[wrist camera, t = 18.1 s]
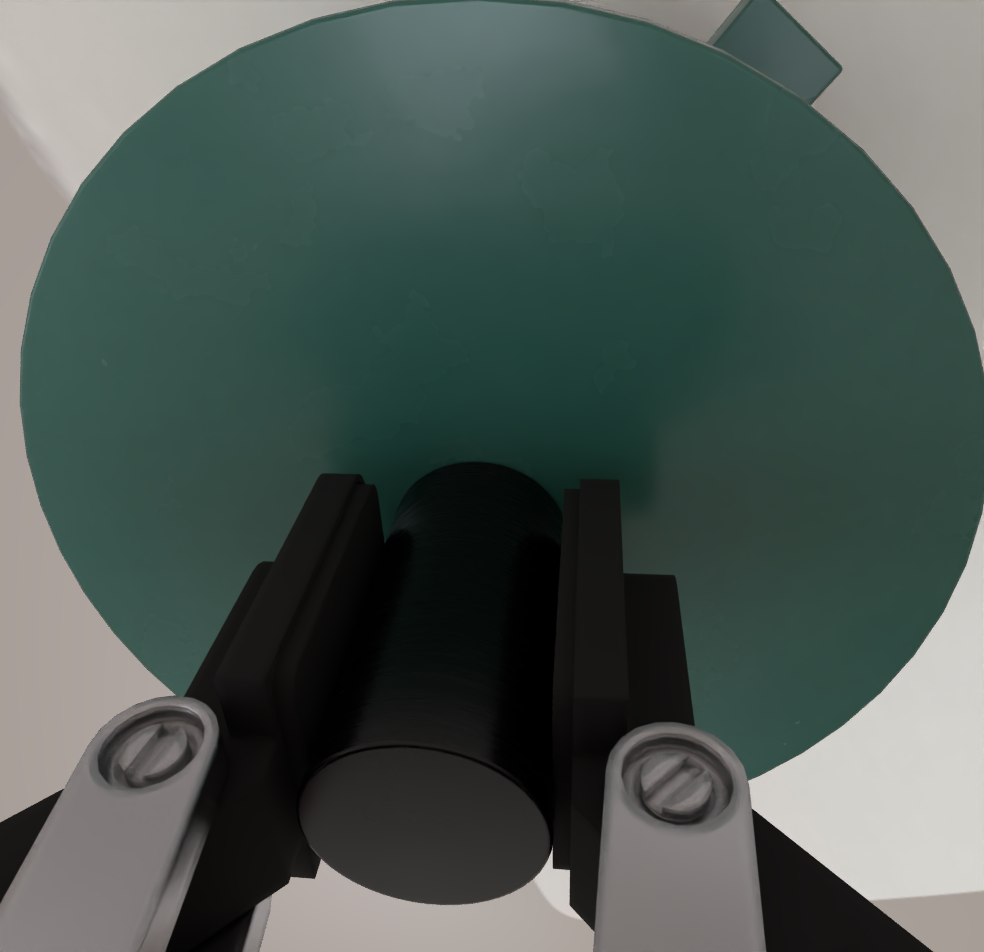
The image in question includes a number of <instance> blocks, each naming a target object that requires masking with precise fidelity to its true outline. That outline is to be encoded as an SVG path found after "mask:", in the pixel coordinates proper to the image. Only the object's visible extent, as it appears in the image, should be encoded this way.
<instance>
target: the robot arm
mask: <svg viewBox="0 0 984 952" xmlns="http://www.w3.org/2000/svg"><path fill="white" fill-rule="evenodd" d="M384 546H385V542H384V535H383V527H382V520H381V513H380V505H379V498H378V492H377V488H376V486H375V485H374V484H365V482H364V479H363V477H362V475H360V474H335V473H323V474H320V476H319V477H318V479H317V481H316V482H315V484H314V486H313V488H312V490H311V492H310V494H309V496H308V498H307V500H306V502H305V504H304V505H303V507H302V509H301V511H300V513H299V515H298V517H297V519H296V521H295V523H294V525H293V526H292V528H291V530H290V532H289V534H288V536H287V538H286V540H285V542H284V544H283V546H282V548H281V549H280V551H279V553H278V555H277V557H276V559H275V561H263V562H261V563H259V564H258V565H257V566H256V567H255V569H254V570H253V571H252V573H251V575H250V577H249V579H248V581H247V582H246V584H245V586H244V588H243V590H242V591H241V593H240V595H239V597H238V599H237V601H236V602H235V604H234V606H233V608H232V610H231V611H230V613H229V615H228V617H227V619H226V621H225V622H224V624H223V626H222V628H221V630H220V632H219V633H218V635H217V637H216V639H215V641H214V642H213V644H212V646H211V648H210V650H209V652H208V653H207V655H206V657H205V659H204V661H203V662H202V664H201V666H200V668H199V670H198V672H197V673H196V675H195V677H194V679H193V681H192V683H191V684H190V686H189V688H188V690H187V692H186V693H185V695H184V697H183V696H167V697H159V698H154V699H151V700H148V701H144V702H141V703H138V704H136V705H134V706H132V707H130V708H128V709H127V710H125V711H123V712H121V713H119V714H118V715H116V716H115V717H114V718H112V719H111V720H110V721H109V722H108V723H107V724H105V725H104V726H103V727H102V728H101V729H100V730H99V731H98V733H97V734H96V735H95V737H94V738H93V739H92V741H91V742H90V744H89V745H88V746H87V748H86V750H85V752H84V754H83V755H82V757H81V759H80V761H79V763H78V764H77V766H76V768H75V770H74V772H73V774H72V775H71V777H70V779H69V781H68V782H67V784H66V786H65V788H64V789H62V790H60V791H58V792H57V793H55V794H53V795H51V796H49V797H47V798H45V799H43V800H42V801H40V802H38V803H36V804H34V805H32V806H30V807H28V808H27V809H25V810H23V811H21V812H19V813H17V814H15V815H13V816H12V817H10V818H8V819H6V820H4V821H2V822H0V952H259V951H260V947H261V943H262V940H263V936H264V932H265V929H266V925H267V921H268V917H269V914H270V907H271V898H272V894H273V893H275V892H276V891H278V890H279V889H281V888H282V887H284V886H285V885H287V884H288V883H289V880H290V877H300V878H312V879H315V877H316V874H317V870H318V867H319V864H320V860H321V858H320V857H319V856H318V855H317V854H316V853H315V852H314V851H313V849H312V848H311V847H310V845H309V844H308V842H307V841H306V840H305V838H304V836H303V834H302V832H301V830H300V827H299V823H298V820H297V813H296V798H297V793H298V790H299V787H300V784H301V781H302V779H303V776H304V773H305V770H306V767H307V764H308V762H309V759H310V756H311V753H312V750H313V747H314V744H315V742H316V739H317V736H318V733H319V730H320V727H321V725H322V722H323V719H324V716H325V713H326V710H327V708H328V705H329V702H330V699H331V696H332V693H333V691H334V688H335V685H336V682H337V679H338V676H339V673H340V671H341V668H342V665H343V662H344V659H345V656H346V654H347V651H348V648H349V645H350V642H351V639H352V637H353V634H354V631H355V628H356V625H357V622H358V620H359V617H360V614H361V611H362V608H363V605H364V602H365V600H366V597H367V594H368V591H369V588H370V585H371V583H372V580H373V577H374V574H375V571H376V568H377V566H378V563H379V560H380V557H381V554H382V551H383V549H384ZM552 778H553V782H554V786H555V820H554V840H553V869H564V870H570V906H571V907H572V908H573V909H574V910H575V911H576V913H577V914H578V915H579V916H580V917H581V918H582V919H583V920H584V921H585V922H586V923H587V924H588V925H589V926H590V927H591V929H592V930H593V931H594V932H595V934H594V948H593V952H933V951H931V950H930V949H929V948H928V947H926V946H925V945H924V944H923V943H921V942H920V941H919V940H917V939H916V938H915V937H914V936H912V935H911V934H910V933H909V932H907V931H906V930H905V929H904V928H902V927H901V926H900V925H899V924H897V923H896V922H895V921H894V920H892V919H891V918H890V917H888V916H887V915H886V914H884V913H883V912H882V911H881V910H880V909H878V908H877V907H876V906H874V905H873V904H872V903H871V902H869V901H868V900H867V899H866V898H864V897H863V896H862V895H861V894H859V893H858V892H857V891H856V890H854V889H853V888H852V887H851V886H849V885H848V884H847V883H845V882H844V881H843V880H842V879H840V878H839V877H838V876H837V875H835V874H834V873H833V872H832V871H830V870H829V869H828V868H826V867H825V866H824V865H823V864H821V863H820V862H819V861H818V860H816V859H815V858H814V857H813V856H811V855H810V854H809V853H808V852H806V851H805V850H804V849H802V848H801V847H800V846H799V845H797V844H796V843H795V842H794V841H792V840H791V839H790V838H789V837H787V836H786V835H785V834H783V833H782V832H781V831H780V830H778V829H777V828H776V827H775V826H773V825H772V824H771V823H770V822H768V821H767V820H766V819H765V818H763V817H762V816H761V815H759V814H758V813H757V812H756V811H754V810H753V809H752V808H751V798H750V788H749V783H748V779H747V776H746V772H745V769H744V766H743V765H742V763H741V762H740V760H739V759H738V757H737V756H736V754H735V753H734V752H733V750H732V749H731V748H730V747H728V746H727V745H726V744H725V743H724V742H722V741H721V740H720V739H719V738H718V737H716V736H715V735H713V734H710V733H708V732H706V731H704V730H702V729H700V728H698V727H695V722H694V714H693V707H692V699H691V691H690V683H689V675H688V667H687V659H686V651H685V643H684V635H683V627H682V619H681V611H680V603H679V596H678V588H677V582H676V577H675V575H660V574H631V573H623V551H622V527H621V504H620V482H619V480H616V479H580V489H564V505H563V522H562V539H561V556H560V572H559V589H558V606H557V623H556V640H555V657H554V674H553V700H552Z"/></svg>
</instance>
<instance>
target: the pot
mask: <svg viewBox="0 0 984 952" xmlns="http://www.w3.org/2000/svg"><path fill="white" fill-rule="evenodd" d="M707 44H710V45H712V46H714V47H717V48H719V49H722V50H724V51H726V52H727V53H729V54H731V55H732V56H734V57H736V58H737V59H739V60H741V61H742V62H744V63H746V64H747V65H749V66H751V67H753V68H754V69H756V70H758V71H759V72H761V73H763V74H764V75H766V76H768V77H769V78H771V79H773V80H774V81H776V82H778V83H779V84H781V85H783V86H784V87H786V88H788V89H789V90H791V91H793V92H794V93H795V94H797V95H798V96H799V97H801V98H802V99H803V100H804V101H806V102H807V103H808V104H809V105H811V104H812V103H813V102H814V101H815V100H816V99H817V98H818V97H819V96H820V95H821V93H822V92H823V91H824V90H825V89H826V88H827V87H828V86H829V85H830V84H831V83H832V82H833V81H834V79H835V78H836V77H837V76H838V75H839V74H840V73H841V71H842V66H841V65H840V64H839V63H838V62H837V61H836V60H835V59H834V58H833V57H832V56H831V55H830V54H829V53H828V52H827V51H826V50H825V49H824V48H823V47H822V46H821V45H820V44H819V43H818V42H817V41H816V40H815V39H814V38H813V37H812V36H811V35H810V34H809V33H808V32H807V31H806V30H805V29H804V28H803V27H802V26H801V25H800V24H799V23H798V22H797V21H796V20H795V19H794V18H793V17H792V16H791V15H790V14H789V13H788V12H787V11H786V10H785V9H784V8H783V7H782V6H781V5H780V4H779V3H778V2H777V1H776V0H741V2H740V3H739V4H738V5H737V6H736V8H735V9H734V10H733V11H732V13H731V14H730V15H729V16H728V17H727V19H726V20H725V21H724V22H723V24H722V25H721V26H720V27H719V28H718V30H717V31H716V32H715V33H714V34H713V36H712V37H711V38H710V39H709V41H708V42H707Z"/></svg>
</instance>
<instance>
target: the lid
mask: <svg viewBox="0 0 984 952" xmlns="http://www.w3.org/2000/svg"><path fill="white" fill-rule="evenodd" d="M20 373H21V374H20V408H21V415H22V423H23V430H24V438H25V446H26V454H27V458H28V462H29V466H30V469H31V472H32V476H33V480H34V483H35V487H36V491H37V494H38V498H39V501H40V505H41V507H42V510H43V512H44V514H45V517H46V519H47V521H48V524H49V526H50V528H51V531H52V533H53V535H54V538H55V540H56V542H57V545H58V547H59V550H60V552H61V553H62V555H63V557H64V559H65V560H66V562H67V564H68V566H69V567H70V569H71V571H72V573H73V574H74V576H75V578H76V579H77V581H78V583H79V585H80V586H81V588H82V590H83V592H84V593H85V595H86V596H87V597H88V599H89V600H90V602H91V603H92V604H93V606H94V607H95V608H96V610H97V611H98V612H99V614H100V615H101V616H102V618H103V619H104V621H105V622H106V623H107V625H108V626H109V627H110V628H111V630H112V631H113V633H114V634H115V635H116V636H117V637H118V638H119V639H120V640H121V641H122V643H123V644H124V645H125V646H126V647H127V648H128V649H129V650H130V651H131V652H132V653H133V655H135V657H136V658H137V659H138V660H139V661H140V662H141V663H142V664H143V665H144V667H145V668H147V670H148V671H150V672H151V673H152V674H153V675H154V676H155V677H156V678H157V679H159V680H160V681H161V682H162V683H163V684H164V685H165V686H166V687H168V688H169V689H170V690H171V691H172V692H173V693H174V694H175V695H176V696H183V697H184V695H185V693H186V692H187V690H188V688H189V686H190V684H191V683H192V681H193V679H194V677H195V675H196V673H197V672H198V670H199V668H200V666H201V664H202V662H203V661H204V659H205V657H206V655H207V653H208V652H209V650H210V648H211V646H212V644H213V642H214V641H215V639H216V637H217V635H218V633H219V632H220V630H221V628H222V626H223V624H224V622H225V621H226V619H227V617H228V615H229V613H230V611H231V610H232V608H233V606H234V604H235V602H236V601H237V599H238V597H239V595H240V593H241V591H242V590H243V588H244V586H245V584H246V582H247V581H248V579H249V577H250V575H251V573H252V571H253V570H254V569H255V567H256V566H257V565H258V564H259V563H261V562H263V561H275V559H276V557H277V555H278V553H279V551H280V549H281V548H282V546H283V544H284V542H285V540H286V538H287V536H288V534H289V532H290V530H291V528H292V526H293V525H294V523H295V521H296V519H297V517H298V515H299V513H300V511H301V509H302V507H303V505H304V504H305V502H306V500H307V498H308V496H309V494H310V492H311V490H312V488H313V486H314V484H315V482H316V481H317V479H318V477H319V476H320V474H323V473H335V474H360V475H362V477H363V479H364V482H365V484H374V485H375V486H376V488H377V492H378V498H379V505H380V513H381V520H382V527H383V535H384V542H385V546H384V549H383V551H382V554H381V557H380V560H379V563H378V566H377V568H376V571H375V574H374V577H373V580H372V583H371V585H370V588H369V591H368V594H367V597H366V600H365V602H364V605H363V608H362V611H361V614H360V617H359V620H358V622H357V625H356V628H355V631H354V634H353V637H352V639H351V642H350V645H349V648H348V651H347V654H346V656H345V659H344V662H343V665H342V668H341V671H340V673H339V676H338V679H337V682H336V685H335V688H334V691H333V693H332V696H331V699H330V702H329V705H328V708H327V710H326V713H325V716H324V719H323V722H322V725H321V727H320V730H319V733H318V736H317V739H316V742H315V744H314V747H313V750H312V753H311V756H310V759H309V762H308V764H307V767H306V770H305V773H304V776H303V779H302V781H301V784H300V787H299V790H298V793H297V798H296V813H297V820H298V823H299V827H300V830H301V832H302V834H303V836H304V838H305V840H306V841H307V842H308V844H309V845H310V847H311V848H312V849H313V851H314V852H315V853H316V854H317V855H318V856H319V857H320V858H321V859H322V860H323V861H324V862H325V863H327V864H328V865H329V866H330V867H331V868H333V869H334V870H335V871H337V872H338V873H340V874H341V875H343V876H345V877H346V878H348V879H350V880H351V881H353V882H355V883H357V884H359V885H361V886H363V887H365V888H368V889H370V890H373V891H375V892H378V893H381V894H384V895H387V896H390V897H394V898H398V899H402V900H406V901H411V902H418V903H425V904H436V905H462V904H473V903H479V902H484V901H489V900H492V899H495V898H500V897H502V896H505V895H507V894H510V893H512V892H514V891H516V890H518V889H520V888H521V887H523V886H525V885H526V884H527V883H529V882H530V881H531V880H533V879H534V878H535V877H536V876H537V875H538V874H539V873H540V871H541V870H542V868H543V867H544V865H545V864H546V862H547V860H548V858H549V856H550V853H551V851H552V846H553V840H554V820H555V786H554V782H553V778H552V700H553V674H554V657H555V640H556V623H557V606H558V589H559V572H560V556H561V539H562V522H563V505H564V489H580V479H616V480H619V482H620V504H621V527H622V551H623V573H631V574H660V575H675V577H676V582H677V588H678V596H679V603H680V611H681V619H682V627H683V635H684V643H685V651H686V659H687V667H688V675H689V683H690V691H691V699H692V707H693V714H694V722H695V727H698V728H700V729H702V730H704V731H706V732H708V733H710V734H713V735H715V736H716V737H718V738H719V739H720V740H721V741H722V742H724V743H725V744H726V745H727V746H728V747H730V748H731V749H732V750H733V752H734V753H735V754H736V756H737V757H738V759H739V760H740V762H741V763H742V765H743V766H744V769H745V772H746V776H747V779H748V780H751V779H753V778H756V777H758V776H760V775H762V774H764V773H766V772H768V771H770V770H772V769H773V768H775V767H777V766H779V765H781V764H783V763H785V762H787V761H788V760H790V759H792V758H794V757H796V756H798V755H800V754H802V753H803V752H805V751H806V750H808V749H809V748H811V747H812V746H814V745H815V744H816V743H818V742H819V741H821V740H822V739H824V738H825V737H827V736H828V735H830V734H831V733H833V732H834V731H836V730H837V729H838V728H840V727H841V726H843V725H844V724H845V723H846V722H847V721H849V720H850V719H851V718H852V717H853V716H854V715H856V714H857V713H858V712H859V711H860V710H861V709H862V708H864V707H865V706H866V705H867V704H868V703H869V702H871V701H872V700H873V699H874V698H875V697H876V696H877V695H879V694H880V693H881V692H882V691H883V689H884V688H885V687H886V686H887V685H888V684H889V683H890V682H891V681H892V679H893V678H894V677H895V676H896V675H897V674H898V673H899V672H900V671H901V669H902V668H903V667H904V666H905V665H906V664H907V663H908V662H909V660H910V659H911V658H912V657H913V656H914V655H915V653H916V652H917V650H918V649H919V647H920V646H921V644H922V643H923V642H924V640H925V639H926V637H927V636H928V634H929V633H930V631H931V630H932V628H933V627H934V625H935V624H936V622H937V621H938V619H939V618H940V616H941V615H942V613H943V612H944V610H945V608H946V606H947V604H948V601H949V599H950V597H951V595H952V593H953V591H954V589H955V587H956V585H957V583H958V581H959V579H960V577H961V575H962V573H963V570H964V568H965V566H966V564H967V561H968V558H969V554H970V551H971V548H972V544H973V541H974V538H975V535H976V531H977V528H978V525H979V521H980V518H981V515H982V511H983V504H984V371H983V366H982V362H981V357H980V352H979V347H978V343H977V338H976V333H975V330H974V327H973V325H972V322H971V320H970V317H969V314H968V312H967V309H966V307H965V304H964V302H963V299H962V297H961V294H960V292H959V289H958V287H957V284H956V282H955V279H954V277H953V274H952V272H951V269H950V267H949V266H948V264H947V262H946V261H945V259H944V257H943V256H942V254H941V252H940V251H939V249H938V248H937V246H936V244H935V243H934V241H933V239H932V238H931V236H930V234H929V233H928V231H927V229H926V228H925V226H924V225H923V223H922V221H921V220H920V218H919V216H918V215H917V213H916V211H915V210H914V208H913V207H912V206H911V204H910V203H909V202H908V201H907V200H906V199H905V197H904V196H903V195H902V194H901V193H900V192H899V190H898V189H897V188H896V187H895V186H894V185H893V184H892V182H891V181H890V180H889V179H888V178H887V177H886V175H885V174H884V173H883V172H882V171H881V170H880V169H879V167H878V166H877V165H876V164H875V163H874V162H873V160H872V159H871V158H870V157H869V156H868V155H867V154H866V152H865V151H864V150H863V149H862V148H861V147H859V146H858V145H857V144H856V143H855V142H853V141H852V140H851V139H850V138H849V137H847V136H846V135H845V134H844V133H843V132H842V131H840V130H839V129H838V128H837V127H836V126H834V125H833V124H832V123H831V122H830V121H828V120H827V119H826V118H825V117H824V116H822V115H821V114H820V113H819V112H818V111H816V110H815V109H814V108H813V107H812V106H810V105H809V104H808V103H807V102H806V101H804V100H803V99H802V98H801V97H799V96H798V95H797V94H795V93H794V92H793V91H791V90H789V89H788V88H786V87H784V86H783V85H781V84H779V83H778V82H776V81H774V80H773V79H771V78H769V77H768V76H766V75H764V74H763V73H761V72H759V71H758V70H756V69H754V68H753V67H751V66H749V65H747V64H746V63H744V62H742V61H741V60H739V59H737V58H736V57H734V56H732V55H731V54H729V53H727V52H726V51H724V50H722V49H719V48H717V47H714V46H712V45H710V44H707V43H705V42H702V41H700V40H697V39H695V38H692V37H690V36H687V35H685V34H683V33H680V32H678V31H675V30H673V29H670V28H668V27H665V26H663V25H660V24H658V23H655V22H653V21H651V20H648V19H644V18H640V17H636V16H632V15H628V14H624V13H619V12H615V11H611V10H607V9H603V8H598V7H594V6H590V5H586V4H582V3H578V2H573V1H569V0H392V1H388V2H384V3H379V4H375V5H371V6H366V7H362V8H357V9H353V10H349V11H344V12H340V13H335V14H331V15H327V16H322V17H318V18H315V19H311V20H309V21H306V22H304V23H301V24H299V25H296V26H294V27H291V28H289V29H286V30H284V31H281V32H279V33H276V34H274V35H272V36H269V37H267V38H264V39H262V40H259V41H257V42H254V43H252V44H249V45H247V46H244V47H242V48H239V49H238V50H236V51H234V52H233V53H231V54H229V55H228V56H226V57H225V58H223V59H221V60H220V61H218V62H216V63H215V64H213V65H211V66H210V67H208V68H206V69H205V70H203V71H201V72H200V73H198V74H197V75H195V76H193V77H192V78H190V79H188V80H187V81H185V82H183V83H182V84H180V85H178V86H177V87H175V88H174V89H173V90H172V91H171V92H170V93H169V94H167V95H166V96H165V97H164V98H163V99H162V100H160V101H159V102H158V103H157V104H156V105H155V106H153V107H152V108H151V109H150V110H149V111H148V112H147V113H145V114H144V115H143V116H142V117H141V118H140V119H138V120H137V121H136V122H135V123H134V124H133V125H132V126H130V127H129V128H128V129H127V130H126V131H125V132H123V134H122V135H121V136H120V137H119V139H118V140H117V141H116V142H115V143H114V145H113V146H112V147H111V148H110V150H109V151H108V152H107V153H106V154H105V156H104V157H103V158H102V159H101V160H100V162H99V163H98V164H97V165H96V167H95V168H94V169H93V170H92V171H91V173H90V174H89V175H88V176H87V178H86V179H85V180H84V181H83V182H82V184H81V186H80V187H79V189H78V191H77V193H76V194H75V196H74V198H73V200H72V201H71V203H70V205H69V207H68V209H67V210H66V212H65V214H64V216H63V217H62V219H61V221H60V223H59V224H58V226H57V228H56V230H55V232H54V233H53V235H52V237H51V239H50V243H49V245H48V248H47V251H46V254H45V256H44V259H43V262H42V265H41V267H40V270H39V273H38V276H37V278H36V281H35V284H34V287H33V290H32V292H31V297H30V302H29V308H28V313H27V319H26V325H25V330H24V335H23V341H22V347H21V372H20Z"/></svg>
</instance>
